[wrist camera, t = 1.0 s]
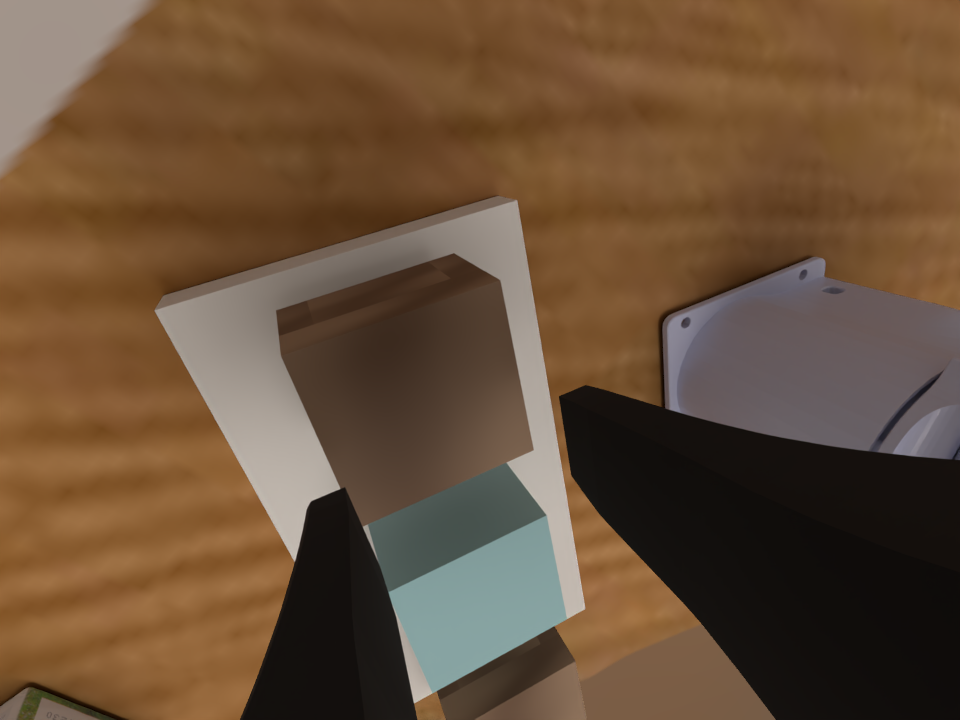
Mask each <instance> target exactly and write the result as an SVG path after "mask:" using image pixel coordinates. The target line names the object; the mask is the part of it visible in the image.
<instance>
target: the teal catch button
mask: <svg viewBox="0 0 960 720" xmlns="http://www.w3.org/2000/svg"><path fill="white" fill-rule="evenodd" d="M368 527H369V530H370V534H371V537H372V541H373V544H374V548H375V551H376V555H377V558H378V562H379V565H380V568H381V571H382V574H383V577H384V580H385V583H386V586H387V589H388V593H389V596H390V599H391V602H392V604H393V607H394V609H395V611H396V613H397V615H398V618H399V620H400V622H401V624H402V627H403V629H404V631H405V633H406V636H407V638H408V640H409V642H410V644H411V647H412V649H413V651H414V653H415V656H416V658H417V660H418V662H419V664H420V667H421V669H422V671H423V673H424V676H425V678H426V680H427V682H428V684H429V687H430V689H431V691H432V693H434V692H436V691H438V690H440V689H441V688H443V687H445V686H447V685H449V684H450V683H452V682H454V681H456V680H458V679H459V678H461V677H463V676H465V675H467V674H469V673H470V672H472V671H474V670H476V669H478V668H479V667H481V666H483V665H485V664H487V663H488V662H490V661H492V660H494V659H496V658H498V657H499V656H501V655H503V654H505V653H507V652H508V651H510V650H512V649H514V648H516V647H517V646H519V645H521V644H523V643H525V642H527V641H528V640H530V639H532V638H534V637H536V636H537V635H539V634H541V633H543V632H545V631H546V630H548V629H550V628H552V627H554V626H555V625H557V624H559V623H561V622H563V621H565V620H566V619H567V616H566V611H565V606H564V601H563V596H562V591H561V586H560V580H559V575H558V570H557V565H556V560H555V555H554V550H553V545H552V540H551V535H550V530H549V525H548V519H547V515H546V514H545V512H544V511H543V510H542V509H541V507H540V506H539V505H538V503H537V502H536V501H535V499H534V498H533V497H532V496H531V494H530V493H529V492H528V490H527V489H526V488H525V486H524V485H523V484H522V483H521V481H520V480H519V479H518V477H517V476H516V475H515V473H514V472H513V471H512V470H511V468H510V467H509V466H508V464H507V463H504V464H502V465H500V466H497V467H495V468H493V469H491V470H488V471H486V472H484V473H482V474H479V475H477V476H475V477H473V478H471V479H468V480H466V481H464V482H462V483H459V484H457V485H455V486H453V487H450V488H448V489H446V490H444V491H441V492H439V493H437V494H435V495H432V496H430V497H428V498H426V499H424V500H421V501H419V502H417V503H415V504H412V505H410V506H408V507H406V508H403V509H401V510H399V511H397V512H394V513H392V514H390V515H388V516H386V517H383V518H381V519H379V520H377V521H374V522H372V523H370V524H368Z"/></svg>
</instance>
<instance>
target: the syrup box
mask: <svg viewBox="0 0 960 720" xmlns="http://www.w3.org/2000/svg"><path fill="white" fill-rule="evenodd" d="M0 720H116V719H113V718H111V717H108V716H106V715H103V714H100V713H98V712H95V711H93V710H91V709H88V708H85V707H83V706H80V705H77V704H75V703H72V702H69V701H67V700H65V699H62V698H60V697H57V696H55V695H52V694H50V693H47V692H44V691H42V690H38V689H35V688H33V687H28V688H26V689H24V690H23V691H21V692H20V693H18V694H17V695H16V696H14V697H13V698H12V699H10V700H9V701H7V702H6V703H4V704H3V705H2V706H0Z"/></svg>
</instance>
